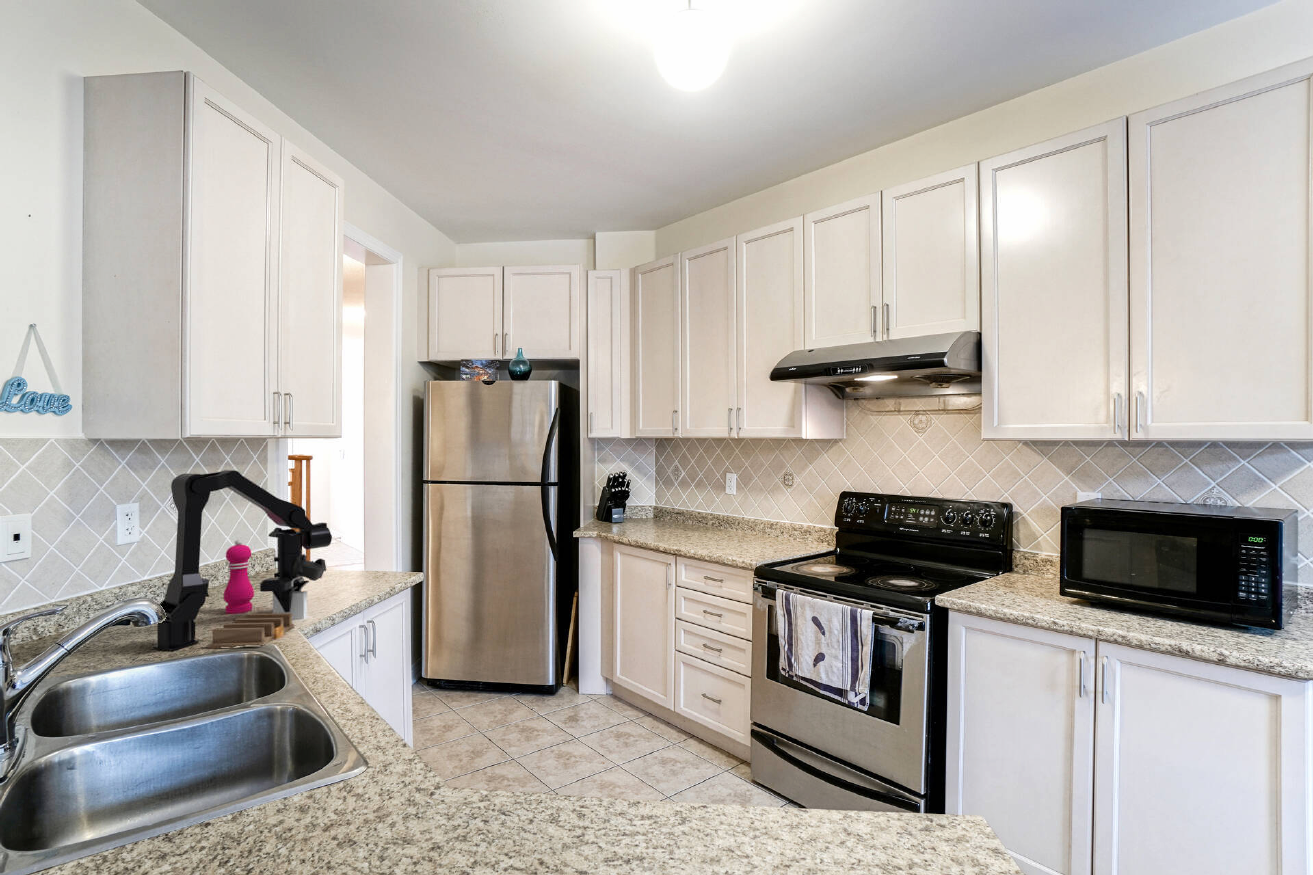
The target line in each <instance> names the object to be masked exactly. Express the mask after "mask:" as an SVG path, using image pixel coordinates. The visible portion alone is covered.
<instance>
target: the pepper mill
mask: <svg viewBox="0 0 1313 875" xmlns="http://www.w3.org/2000/svg"><path fill="white" fill-rule="evenodd" d="M251 557H252V549H251V548H250V546H248V545H246V544H243V541H242V539H240V538H238V539H235V541H234V545H232V546H230V547H229V548H227V550H226V553H225V558H226V560H227V561H228V564H227V565H228V567H227V569H229V579H228V581H227V585H226V587H225V588H224V592H223V596H222V597H223V601H224V602H225V603H226V604H227V605H226V606H225V613H226V614H229V615H230V614H233V615H237V614H236V613H238V614H242V613H243V614H245V613H247V612H251V611H252V610H253V602H251V601H252V599H254V596H255V589H254V587H253V585H252V583H251V581H250V579H249V576H248V575H249V574H248V569H249V567H250V561H249V560H250V558H251ZM250 610H251V611H250Z"/></svg>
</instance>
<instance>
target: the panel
mask: <svg viewBox="0 0 1313 875" xmlns="http://www.w3.org/2000/svg"><path fill="white" fill-rule="evenodd" d="M272 613H292V620H305V619H307V618H308V591H306V590H305V591H304V590H303V591H302V590H301V591H295V592H293V593H292V600H291V608H290V612H285V611H284V610H283V608H282V606H281V605H280V603H279V601H278V599H277V598H276V596H275V595H274V594H273V593H272Z"/></svg>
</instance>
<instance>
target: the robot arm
mask: <svg viewBox="0 0 1313 875" xmlns="http://www.w3.org/2000/svg"><path fill="white" fill-rule="evenodd" d="M170 488H171V496H172V500H173V502H174V506H175V508H176V511H177V526H176V545H175V546H176V547H175V562H174V563H175V564H174V573H173V575H172V577H171V578H170V580H169V583H168V584H167V588H166V591H165V596H164V599H163V600H162V601H161V602H160V603H159V604H158V605H161V606H162V607H163V609H164V610H165V613H166V616H167V617H166V619H165V621H163V622H162V623H158V624H157V628H156V629H157V632H156V633H157V635H156V637H157V638H156V639H157V640H156V641H157V644H155V645H152V649H153V650H154V649H155V650H164V651H170V652H171V651H175V650H180V649H183V648H185V647H189V646H193V645H194V644H198V643H199V642H200V641H199V639H196V622H195V620H196V619H197V617H198V613H199V611H200V609H201V607H203V606H204V605H205V603H206V601H207V600H206V599H207V598H209V597H210V594H209V592H208V591H209V590H208V589H209V585H210V580H209V578H203V577H201V574H200V573H201V572H200V561H201V560H200V556H201V541H202V540H201V537H202V520H203V518H202V517H203V511H204V509H205V507H206V505H207V504H208V502H209V500H210V497H211V496H210V495H211V492H216V491H221V490H223V489H229V490H230V491H232V492H233V493H235V494H237V495H239V496H240V497H242V498H243V499H245V500H247V501H248V502H250V503H252V504H253V505H255V506H257V507H258V508H260V509H261V510H262V511H263V512H264V513H265V514H266V515H267V517H268V518H269V519H270V520H271V521H272V522H273V523H274V524H276V525H277V526H280V527H275V528H274V529H273V530H272V531H271V532H270V533H269V534H268V537H269V538H277V543H276V544H277V556H276V557H274V558H273V562H276V563H277V572H275V573H274V574H273V577H272V576H271V577H269V578H265V579H264V580H262V581H261V582H260V583H259V592H262V593H263V592H272V595H273V594H274V595H275V596H276V598H277V599H278V601H279V603H280V605H281V606H282V608H283V610H284V611H285V612H290V608H291V600H292V593H293V592H295V591H302V590H303V588H304V587H305V586H306V585H307V584H309V583H310V581H314V582H317V580H318V579H322V577H323V575H324V572H326V571H327V565H326V560H325V559H323V558H318V559H316V560H315V561H314V560H311V561H310V560H307V555H306V554H303V549H304V550H312V549H314V550H315V549H319V548H326V547H329V546H330V545H331V543H332V541H333V537H332V536H333V535H332V534H331V531H330V528H329V527H328V524H327V522H317V523H314V524H313V523H312V522H311V521H310V519H309V518H308V517H307V516H306V509H304V508H303V507H302V506H300V505H297V504H295V503H293V502H289V501H287V500H285V499H281V498H279V497H277V496H275V495H274V494H272V493H271V492H269V491H267V490H266V489H264V488H263V487H261V486H259V485H257V484H256V483H255V482H254V481H252V480H250V479H248V478H247V477H246V476H244V475H242V474H241V472H240V471H238V470H235V469H234V470H231V469H224V470H220V471H217V472H210V473H201V474H200V473H180V474H179V475H177V476H176V477H175V478H173V479H172V481H171V486H170ZM281 527H287V528H288V529H283V528H281ZM295 529H297V531H296V530H295ZM305 578H306V579H309V580H305Z"/></svg>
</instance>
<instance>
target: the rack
mask: <svg viewBox="0 0 1313 875" xmlns="http://www.w3.org/2000/svg"><path fill="white" fill-rule="evenodd" d="M233 621H234V622H233V623H232V622H230V623H225V624H223V628H222V627H220V628H218V627H217V628H213V629H212V634H211V635H212V643H210V644H209V650H216V649H215V648H221V647H236V646H246V645H262V644H264V643H267V642H268V643H270V642H272V641H273V639H274V640H278V639H279V638H281V637H283V636H284V634H286V633H288V632H289V631H291V630H293V629H294V628H295V623H293V619H292V613H273V612H271V613H246V614H244V615H243V618H235V619H234V620H233ZM269 641H270V642H269ZM268 643H267V644H268Z"/></svg>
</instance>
